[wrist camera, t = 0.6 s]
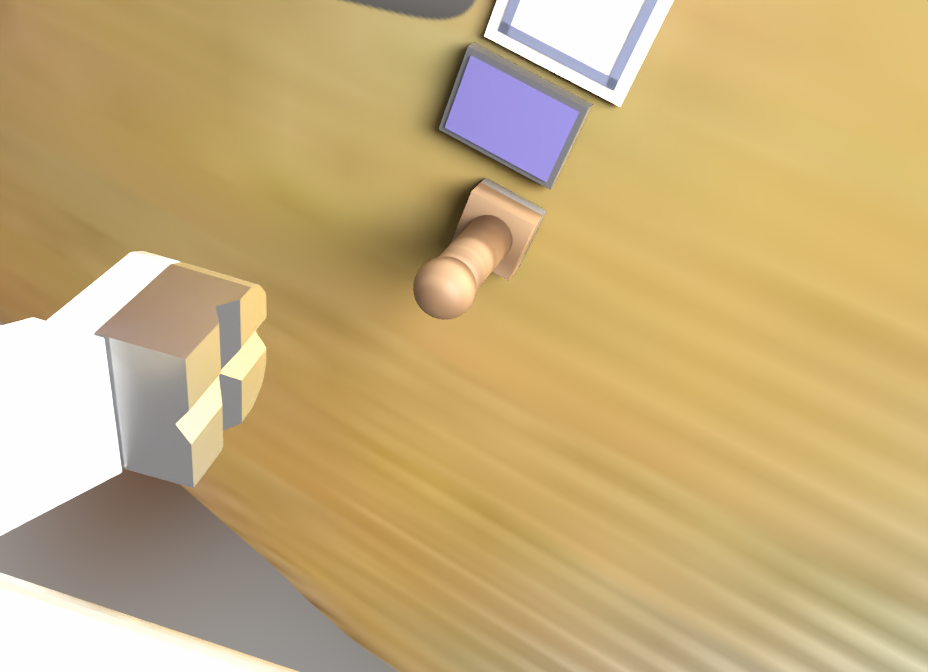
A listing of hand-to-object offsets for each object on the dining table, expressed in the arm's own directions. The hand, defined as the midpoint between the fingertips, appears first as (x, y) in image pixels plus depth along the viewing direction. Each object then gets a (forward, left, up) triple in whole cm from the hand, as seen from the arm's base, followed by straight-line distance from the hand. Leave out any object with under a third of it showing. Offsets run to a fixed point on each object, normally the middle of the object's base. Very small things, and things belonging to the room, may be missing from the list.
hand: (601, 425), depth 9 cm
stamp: (+22, -8, -40) cm, 46 cm away
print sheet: (+7, -9, -40) cm, 42 cm away
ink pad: (+15, -10, -40) cm, 44 cm away
